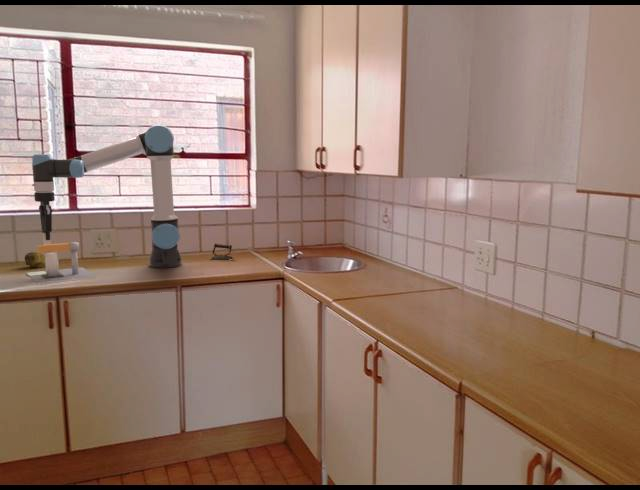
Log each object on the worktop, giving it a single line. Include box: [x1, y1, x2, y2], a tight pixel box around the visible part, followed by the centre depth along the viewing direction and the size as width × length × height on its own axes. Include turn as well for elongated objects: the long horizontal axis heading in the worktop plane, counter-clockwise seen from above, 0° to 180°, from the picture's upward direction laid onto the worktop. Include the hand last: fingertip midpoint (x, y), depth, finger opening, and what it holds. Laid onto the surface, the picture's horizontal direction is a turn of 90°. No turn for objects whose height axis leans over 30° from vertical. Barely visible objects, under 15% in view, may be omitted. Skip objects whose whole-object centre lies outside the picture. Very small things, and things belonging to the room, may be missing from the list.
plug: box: [44, 252, 60, 276], centre depth 234 cm, size 5×5×9 cm
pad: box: [26, 270, 46, 278], centre depth 238 cm, size 7×7×1 cm
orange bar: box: [36, 241, 80, 254], centre depth 234 cm, size 16×4×3 cm, turn 127°
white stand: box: [25, 250, 96, 285], centre depth 237 cm, size 23×21×11 cm
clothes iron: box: [210, 243, 234, 261], centre depth 281 cm, size 7×11×10 cm, turn 83°
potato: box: [24, 251, 46, 269], centre depth 253 cm, size 8×13×8 cm, turn 130°
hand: (47, 247), depth 237 cm, fingers closed
